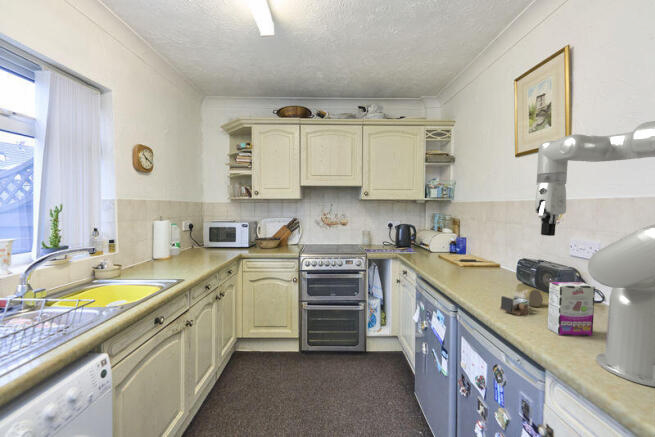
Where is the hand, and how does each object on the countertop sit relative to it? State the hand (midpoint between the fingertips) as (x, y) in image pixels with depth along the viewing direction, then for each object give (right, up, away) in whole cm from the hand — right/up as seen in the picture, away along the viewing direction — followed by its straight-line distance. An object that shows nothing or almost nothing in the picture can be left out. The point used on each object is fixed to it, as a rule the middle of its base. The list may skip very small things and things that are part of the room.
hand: (547, 235), depth 88 cm
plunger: (+1, -30, +17) cm, 34 cm away
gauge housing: (+1, -31, +17) cm, 36 cm away
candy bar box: (+7, -33, 0) cm, 33 cm away
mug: (+12, -31, +26) cm, 42 cm away
